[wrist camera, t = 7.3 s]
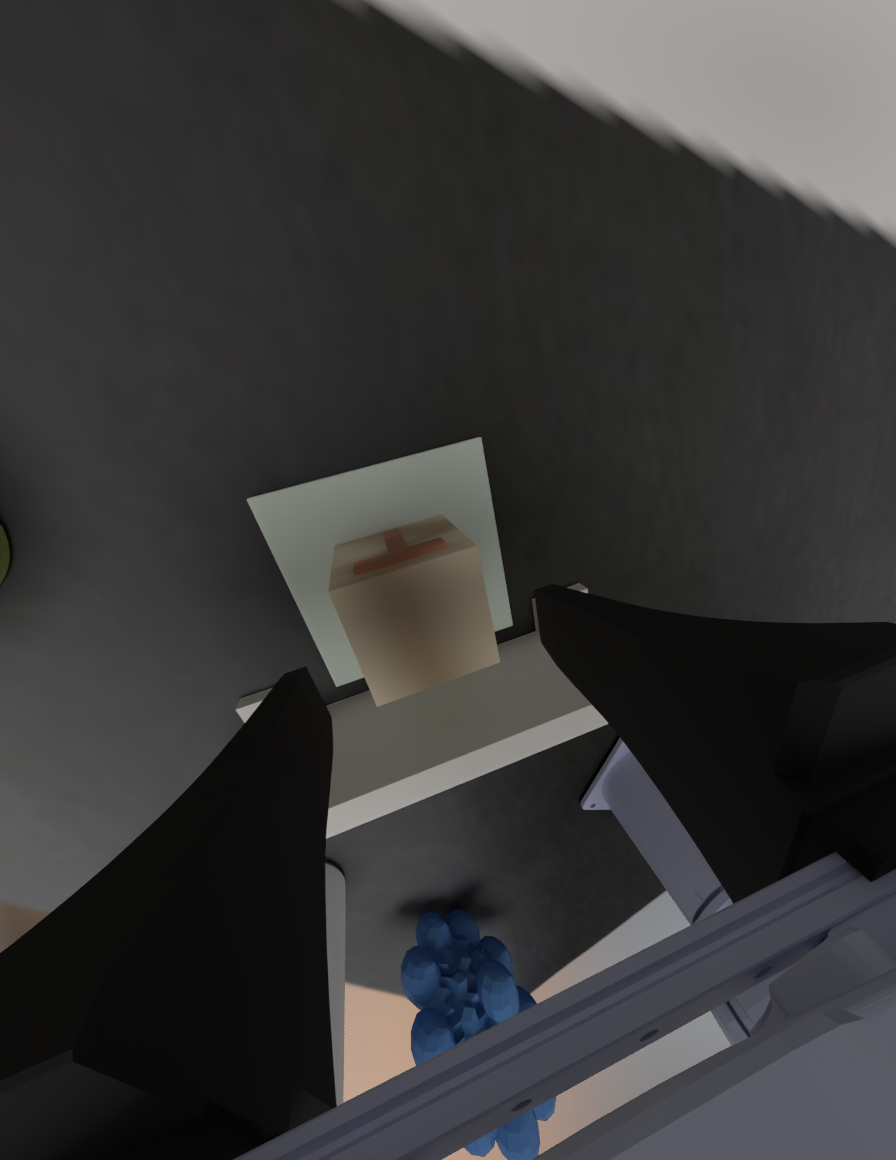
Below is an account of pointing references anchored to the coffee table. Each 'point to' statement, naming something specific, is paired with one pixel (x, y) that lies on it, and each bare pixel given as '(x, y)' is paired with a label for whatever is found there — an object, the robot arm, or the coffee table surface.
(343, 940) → the can
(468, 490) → the sage mat
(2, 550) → the plant pot
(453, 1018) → the grapes
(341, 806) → the grey screen
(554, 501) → the coffee table surface
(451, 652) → the maple cube
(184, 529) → the coffee table surface
